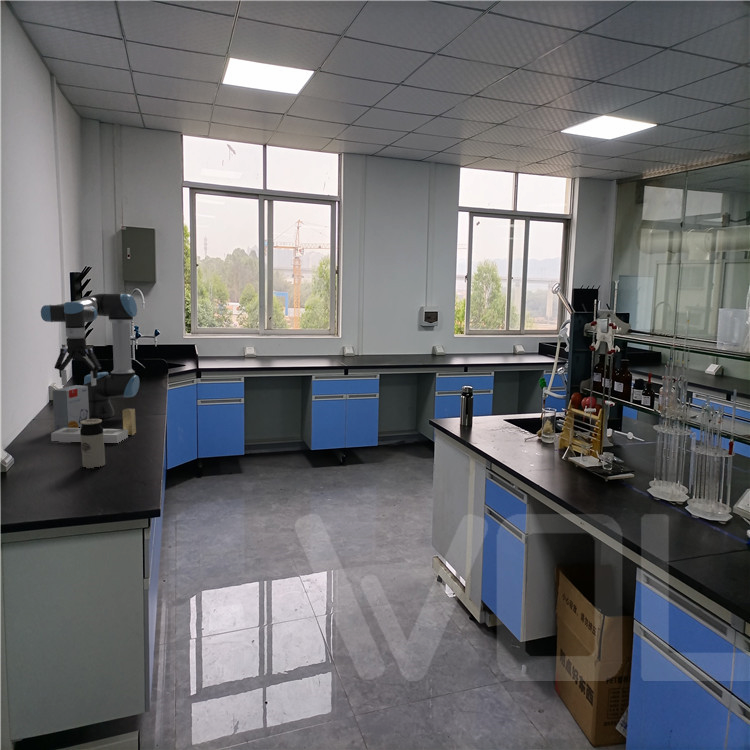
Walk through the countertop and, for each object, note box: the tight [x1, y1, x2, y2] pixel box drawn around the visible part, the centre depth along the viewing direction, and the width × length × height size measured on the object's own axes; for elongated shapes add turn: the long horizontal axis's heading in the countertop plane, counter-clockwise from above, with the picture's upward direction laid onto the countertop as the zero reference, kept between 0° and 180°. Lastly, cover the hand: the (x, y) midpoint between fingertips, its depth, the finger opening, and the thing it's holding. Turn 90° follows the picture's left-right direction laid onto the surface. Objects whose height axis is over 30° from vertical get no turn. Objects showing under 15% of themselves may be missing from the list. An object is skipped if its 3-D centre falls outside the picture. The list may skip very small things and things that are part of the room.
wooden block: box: [121, 408, 137, 436], centre depth 268 cm, size 4×4×12 cm
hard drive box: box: [52, 384, 89, 432], centre depth 277 cm, size 16×8×20 cm, turn 168°
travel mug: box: [80, 419, 106, 469], centre depth 221 cm, size 8×8×18 cm
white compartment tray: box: [50, 427, 129, 444], centre depth 258 cm, size 10×30×4 cm, turn 87°
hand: (79, 385), depth 253 cm, fingers open, 13 cm apart
